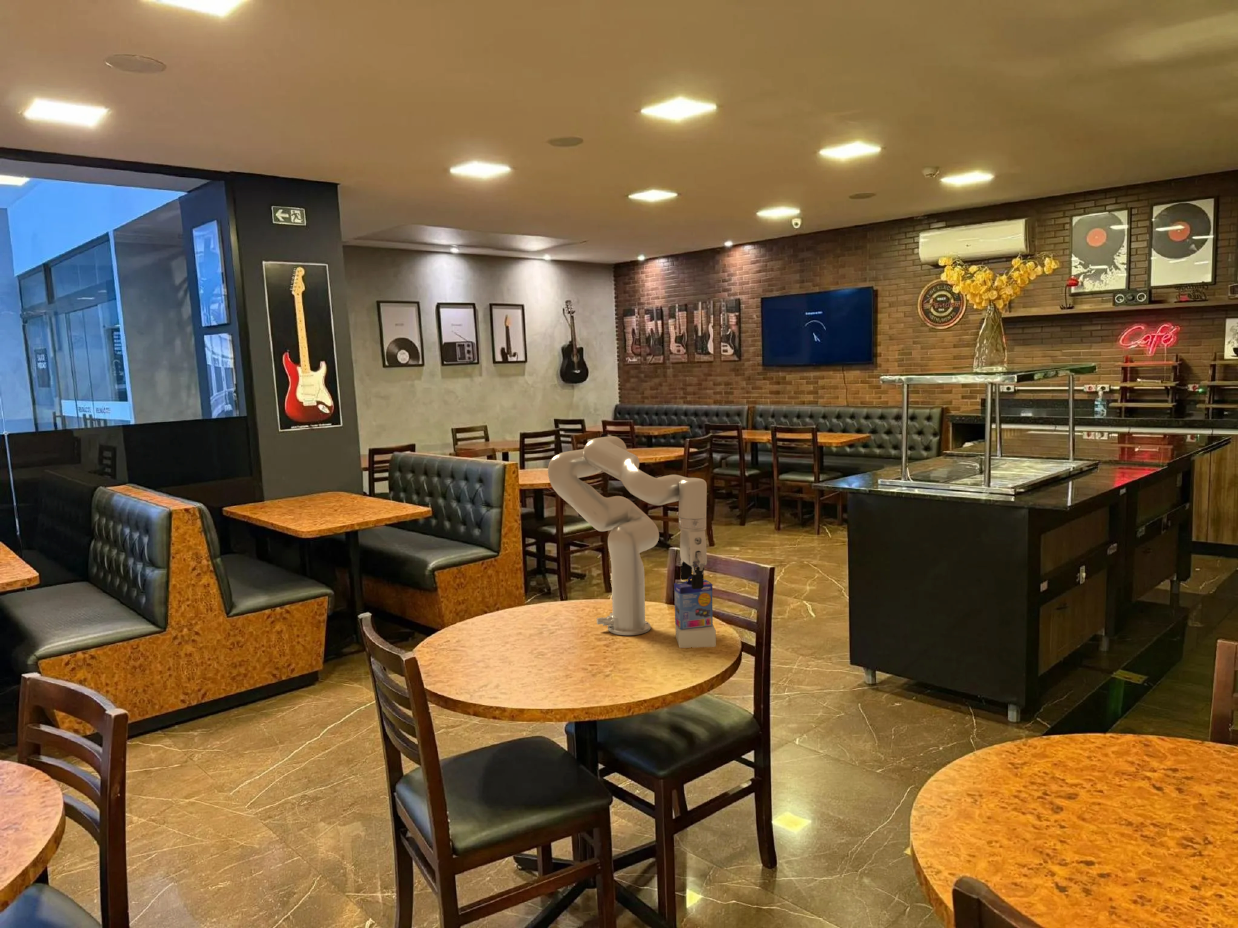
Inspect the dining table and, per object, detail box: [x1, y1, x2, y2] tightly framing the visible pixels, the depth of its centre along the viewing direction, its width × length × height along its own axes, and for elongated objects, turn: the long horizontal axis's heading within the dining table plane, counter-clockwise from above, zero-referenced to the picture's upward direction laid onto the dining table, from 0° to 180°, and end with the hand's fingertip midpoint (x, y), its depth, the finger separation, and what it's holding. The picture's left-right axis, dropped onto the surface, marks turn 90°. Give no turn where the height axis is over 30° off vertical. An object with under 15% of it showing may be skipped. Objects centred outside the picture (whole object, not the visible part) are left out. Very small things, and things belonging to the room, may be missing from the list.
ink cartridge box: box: [673, 577, 714, 630], centre depth 235 cm, size 10×6×14 cm, turn 107°
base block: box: [675, 624, 717, 649], centre depth 236 cm, size 10×10×5 cm
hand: (691, 583), depth 234 cm, fingers open, 9 cm apart
